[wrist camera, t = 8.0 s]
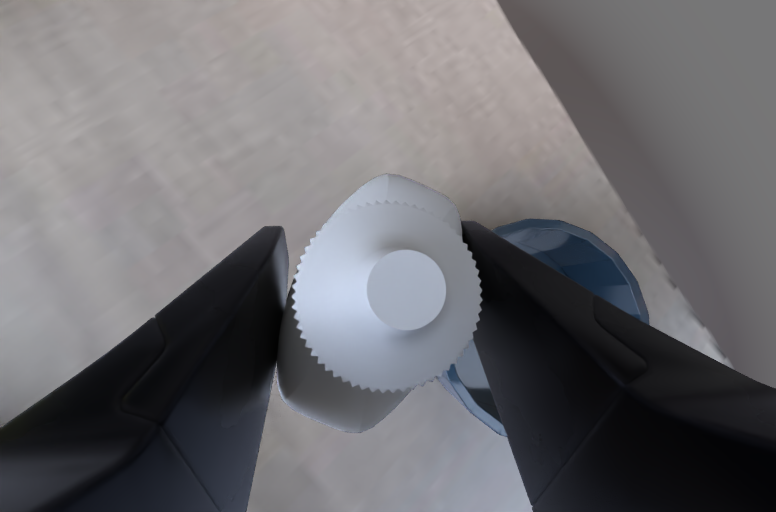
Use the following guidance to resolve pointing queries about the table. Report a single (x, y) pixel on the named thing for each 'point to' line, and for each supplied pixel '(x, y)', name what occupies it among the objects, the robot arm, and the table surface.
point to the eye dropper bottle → (377, 305)
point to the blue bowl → (571, 258)
